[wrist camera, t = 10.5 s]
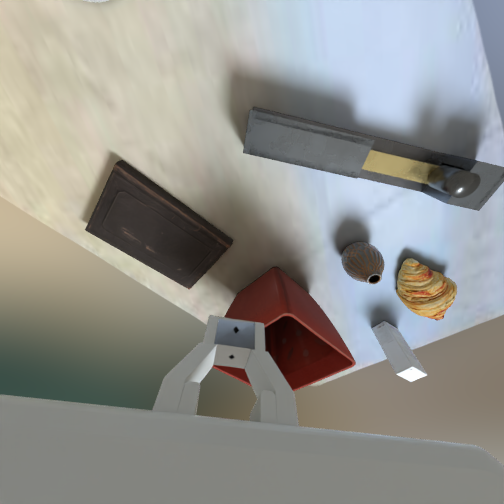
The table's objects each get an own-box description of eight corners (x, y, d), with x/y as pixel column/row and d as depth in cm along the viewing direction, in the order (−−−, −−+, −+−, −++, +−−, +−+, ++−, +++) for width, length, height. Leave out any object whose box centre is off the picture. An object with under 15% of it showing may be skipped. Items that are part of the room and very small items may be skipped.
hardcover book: (192, 282, 50) (189, 289, 48) (92, 224, 42) (84, 230, 40) (233, 238, 43) (232, 244, 41) (123, 159, 35) (116, 161, 33)
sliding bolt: (319, 159, 33) (333, 170, 26) (327, 136, 31) (344, 142, 25) (445, 188, 35) (486, 204, 28) (459, 168, 33) (506, 180, 27)
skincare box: (370, 328, 56) (395, 374, 46) (384, 319, 55) (413, 366, 45) (384, 336, 58) (411, 382, 48) (398, 328, 56) (428, 375, 46)
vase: (345, 234, 41) (364, 260, 34) (378, 239, 42) (404, 266, 34) (332, 262, 45) (347, 291, 37) (363, 266, 45) (383, 296, 38)
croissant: (381, 253, 48) (379, 282, 43) (438, 242, 40) (444, 275, 36) (414, 305, 56) (415, 333, 51) (466, 303, 48) (474, 336, 44)
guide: (244, 151, 33) (241, 158, 28) (251, 106, 30) (250, 104, 25) (448, 197, 37) (478, 210, 32) (475, 161, 33) (513, 169, 28)
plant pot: (330, 295, 50) (359, 366, 36) (271, 330, 58) (275, 399, 44) (278, 247, 43) (288, 311, 29) (218, 293, 51) (203, 363, 37)
